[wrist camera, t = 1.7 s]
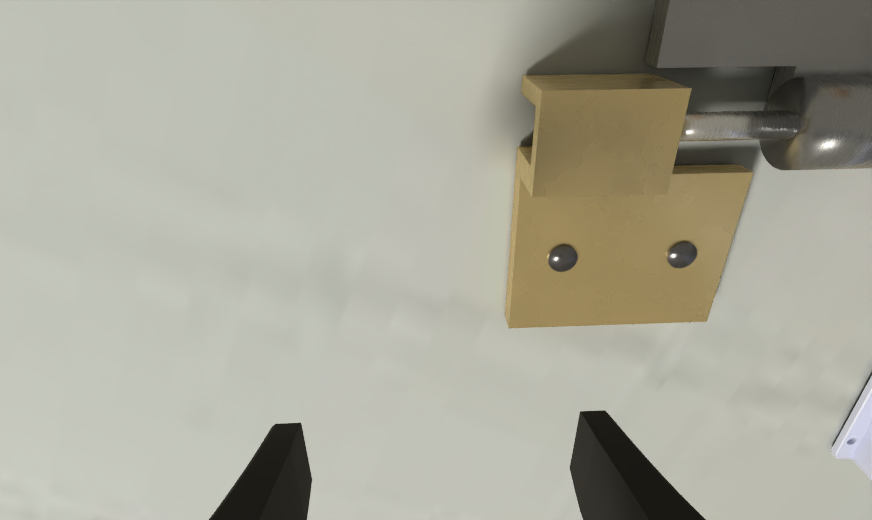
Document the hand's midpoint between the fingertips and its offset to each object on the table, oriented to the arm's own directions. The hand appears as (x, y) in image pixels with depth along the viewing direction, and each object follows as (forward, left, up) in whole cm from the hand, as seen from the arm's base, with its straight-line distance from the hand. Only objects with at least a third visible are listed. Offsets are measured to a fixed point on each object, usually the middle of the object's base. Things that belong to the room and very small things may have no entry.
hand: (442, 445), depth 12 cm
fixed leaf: (+9, -12, -10) cm, 19 cm away
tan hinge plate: (+2, -8, -10) cm, 13 cm away
